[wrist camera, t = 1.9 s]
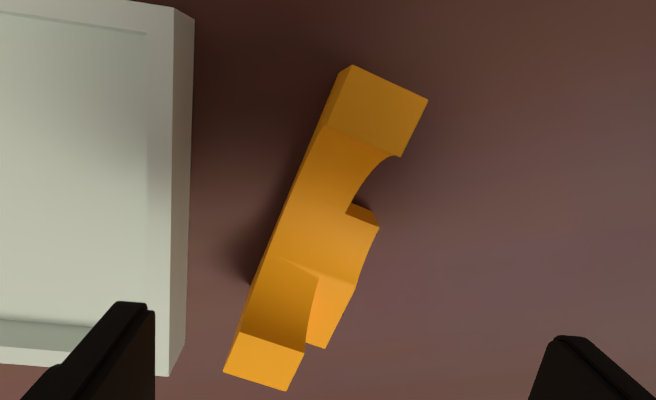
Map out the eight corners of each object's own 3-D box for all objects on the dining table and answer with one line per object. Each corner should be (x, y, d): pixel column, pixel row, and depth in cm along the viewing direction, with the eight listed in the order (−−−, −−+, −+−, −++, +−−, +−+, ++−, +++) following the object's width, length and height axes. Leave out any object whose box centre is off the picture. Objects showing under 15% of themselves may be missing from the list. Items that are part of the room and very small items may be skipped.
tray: (194, 19, 16) (173, 7, 14) (185, 343, 21) (168, 376, 18) (-155, -36, 15) (-245, -59, 12) (-79, 320, 20) (-132, 352, 17)
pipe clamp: (323, 309, 21) (326, 404, 15) (250, 284, 20) (222, 371, 14) (420, 110, 18) (477, 122, 11) (338, 72, 17) (352, 64, 11)
